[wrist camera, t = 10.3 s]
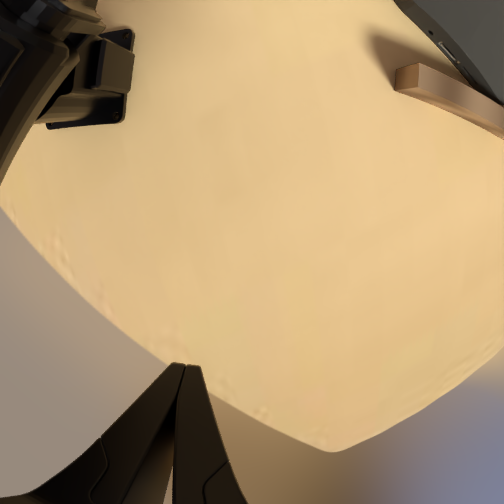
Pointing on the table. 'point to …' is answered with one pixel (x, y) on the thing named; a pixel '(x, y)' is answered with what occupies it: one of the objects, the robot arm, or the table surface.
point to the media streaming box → (466, 38)
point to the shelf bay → (450, 96)
